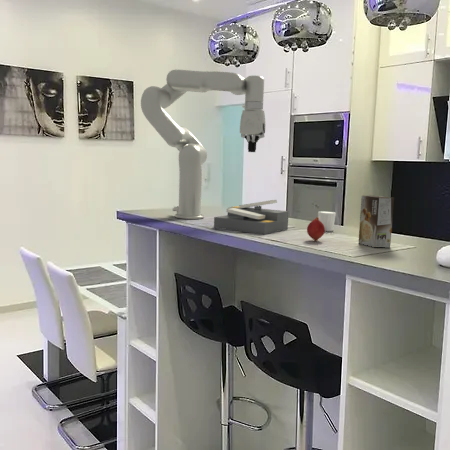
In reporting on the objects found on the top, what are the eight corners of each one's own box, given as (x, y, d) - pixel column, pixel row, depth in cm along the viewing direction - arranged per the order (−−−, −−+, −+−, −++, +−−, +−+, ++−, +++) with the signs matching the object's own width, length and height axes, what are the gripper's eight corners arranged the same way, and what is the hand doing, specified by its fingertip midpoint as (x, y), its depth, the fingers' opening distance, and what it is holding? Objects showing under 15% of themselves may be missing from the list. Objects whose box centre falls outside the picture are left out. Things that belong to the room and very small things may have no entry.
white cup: (333, 229, 200) (334, 211, 199) (335, 231, 194) (337, 213, 193) (316, 228, 201) (317, 210, 200) (317, 230, 194) (318, 212, 193)
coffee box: (391, 247, 162) (395, 197, 160) (375, 248, 159) (379, 197, 157) (372, 242, 170) (376, 195, 168) (357, 243, 168) (360, 195, 166)
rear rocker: (239, 208, 197) (239, 205, 197) (246, 207, 202) (245, 204, 202) (270, 203, 189) (270, 200, 189) (276, 202, 194) (276, 199, 194)
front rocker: (226, 211, 190) (226, 208, 190) (233, 210, 194) (233, 207, 194) (258, 219, 183) (258, 216, 182) (264, 218, 187) (265, 215, 187)
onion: (304, 241, 168) (306, 217, 167) (308, 238, 174) (309, 215, 172) (322, 242, 166) (324, 218, 165) (325, 240, 172) (326, 216, 170)
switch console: (213, 227, 192) (214, 205, 190) (239, 223, 206) (240, 203, 205) (264, 234, 179) (265, 211, 178) (287, 229, 194) (288, 208, 193)
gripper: (233, 106, 209) (231, 151, 211) (265, 105, 201) (262, 152, 203) (243, 108, 215) (241, 151, 218) (274, 107, 207) (271, 152, 209)
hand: (251, 152), depth 210 cm, fingers closed
